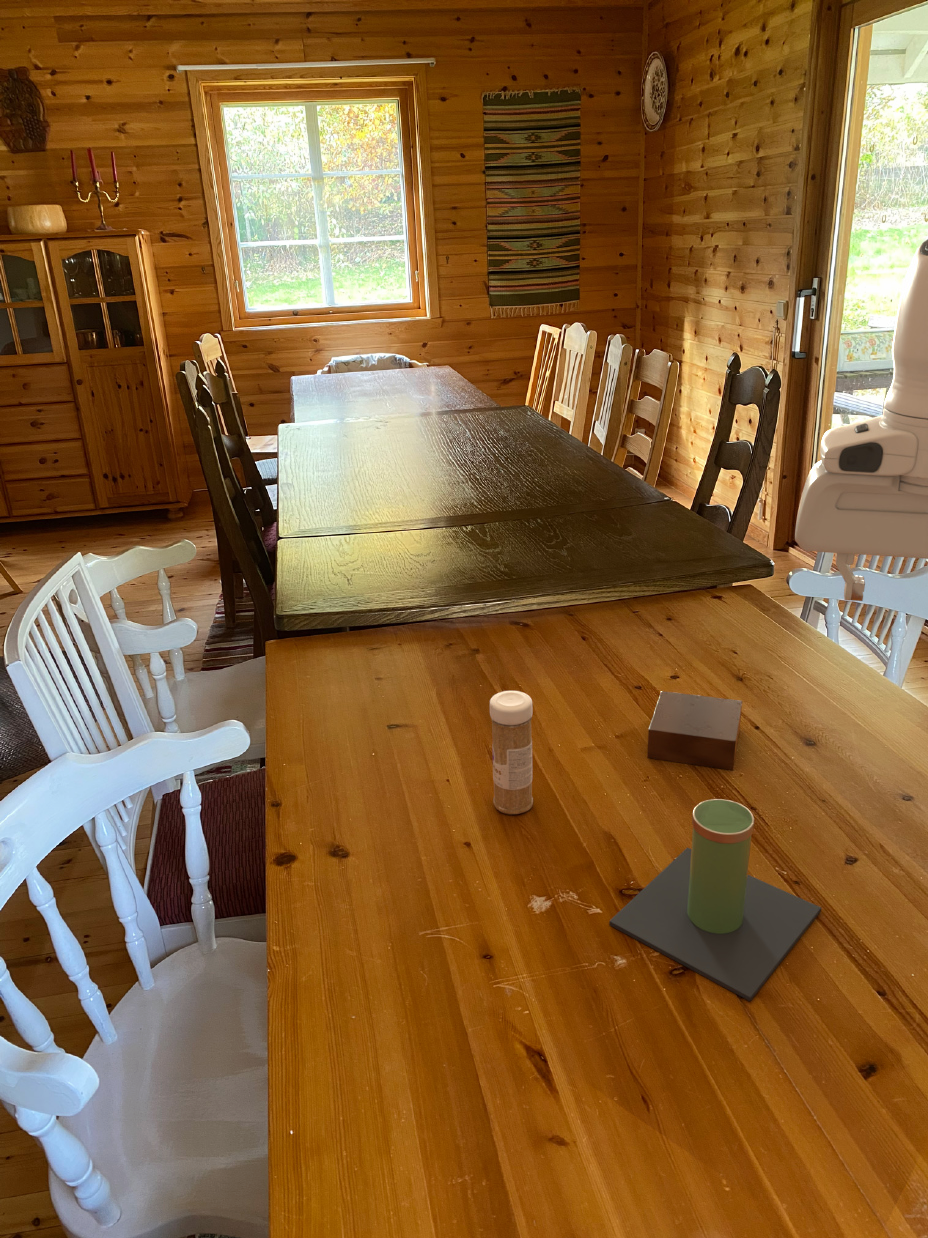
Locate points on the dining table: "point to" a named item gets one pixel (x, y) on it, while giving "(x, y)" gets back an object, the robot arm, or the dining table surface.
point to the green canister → (719, 865)
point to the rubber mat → (718, 957)
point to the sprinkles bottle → (512, 751)
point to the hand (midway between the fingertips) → (911, 602)
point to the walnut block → (695, 730)
